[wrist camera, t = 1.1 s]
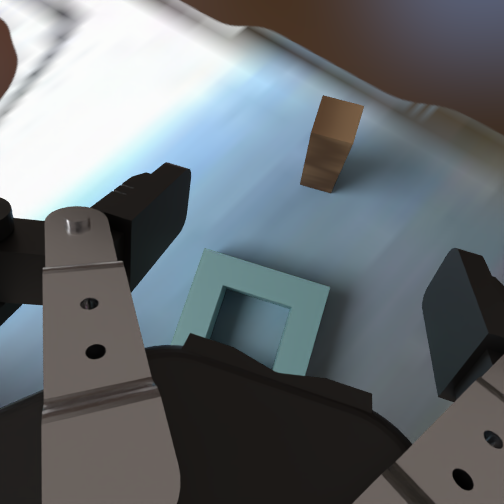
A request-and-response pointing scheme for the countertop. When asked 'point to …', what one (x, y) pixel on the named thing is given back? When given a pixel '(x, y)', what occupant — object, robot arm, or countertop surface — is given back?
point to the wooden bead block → (261, 287)
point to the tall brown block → (330, 142)
